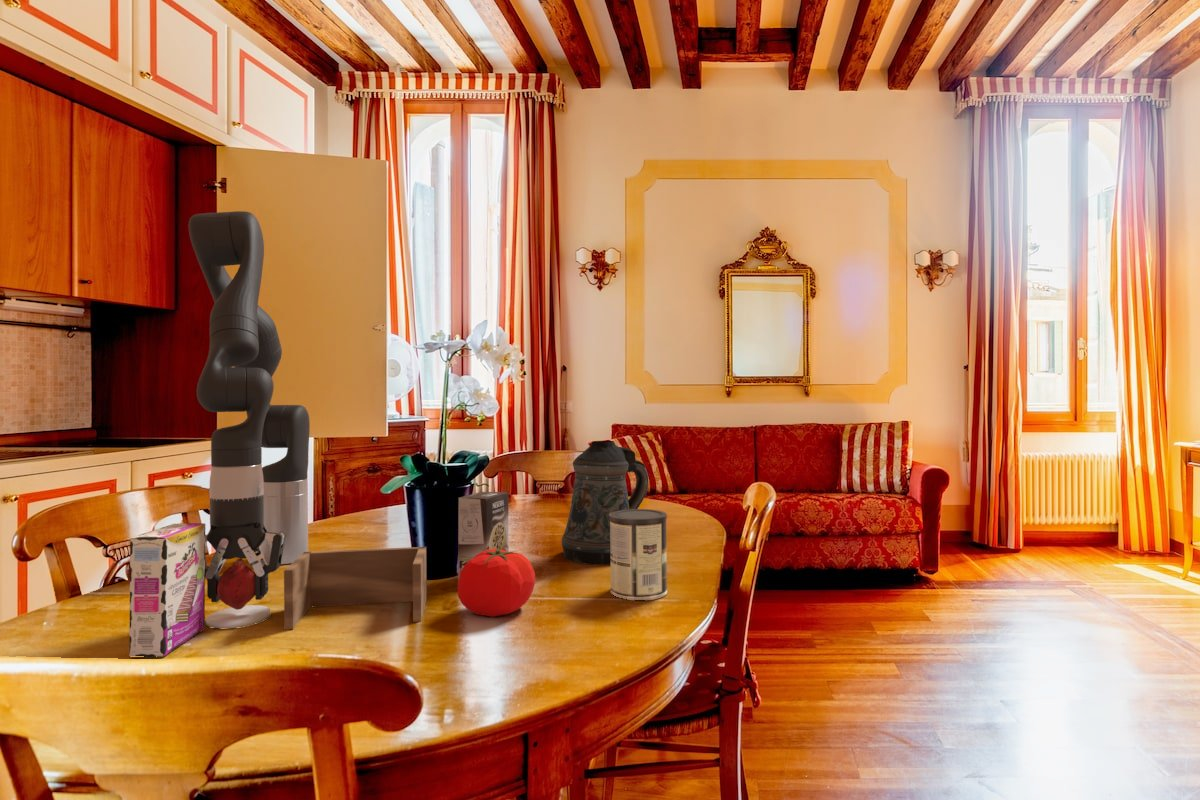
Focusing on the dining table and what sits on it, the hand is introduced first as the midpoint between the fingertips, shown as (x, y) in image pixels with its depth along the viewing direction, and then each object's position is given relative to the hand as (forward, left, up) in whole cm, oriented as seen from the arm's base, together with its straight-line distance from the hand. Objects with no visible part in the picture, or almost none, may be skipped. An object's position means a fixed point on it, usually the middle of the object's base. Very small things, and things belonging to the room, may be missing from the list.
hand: (238, 599), depth 106 cm
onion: (0, 0, -2) cm, 2 cm away
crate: (+1, +19, -3) cm, 19 cm away
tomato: (+4, +41, -3) cm, 41 cm away
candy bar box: (+9, -6, -3) cm, 12 cm away
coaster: (0, 0, -3) cm, 3 cm away
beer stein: (-31, +65, -3) cm, 72 cm away
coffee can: (-2, +66, -3) cm, 66 cm away
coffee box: (-17, +39, -3) cm, 42 cm away
